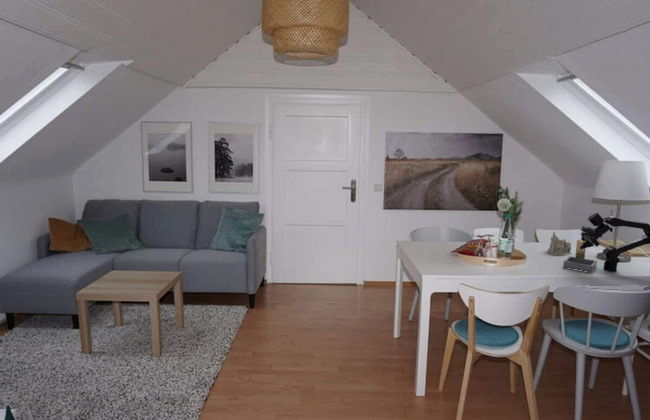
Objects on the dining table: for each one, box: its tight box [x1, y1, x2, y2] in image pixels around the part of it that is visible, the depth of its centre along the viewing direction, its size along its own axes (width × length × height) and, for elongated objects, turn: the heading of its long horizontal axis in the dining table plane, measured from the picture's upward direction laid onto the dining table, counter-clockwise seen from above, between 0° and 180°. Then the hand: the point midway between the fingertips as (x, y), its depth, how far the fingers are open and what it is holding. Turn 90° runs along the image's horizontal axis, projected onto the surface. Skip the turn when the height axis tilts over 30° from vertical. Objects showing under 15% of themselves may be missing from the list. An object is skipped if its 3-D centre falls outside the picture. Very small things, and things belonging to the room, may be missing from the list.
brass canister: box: [574, 239, 587, 259], centre depth 296 cm, size 5×5×11 cm
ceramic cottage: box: [547, 231, 572, 257], centre depth 333 cm, size 16×16×15 cm
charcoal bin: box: [562, 255, 598, 273], centre depth 297 cm, size 16×16×4 cm
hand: (578, 247), depth 296 cm, fingers closed on brass canister, 5 cm apart
